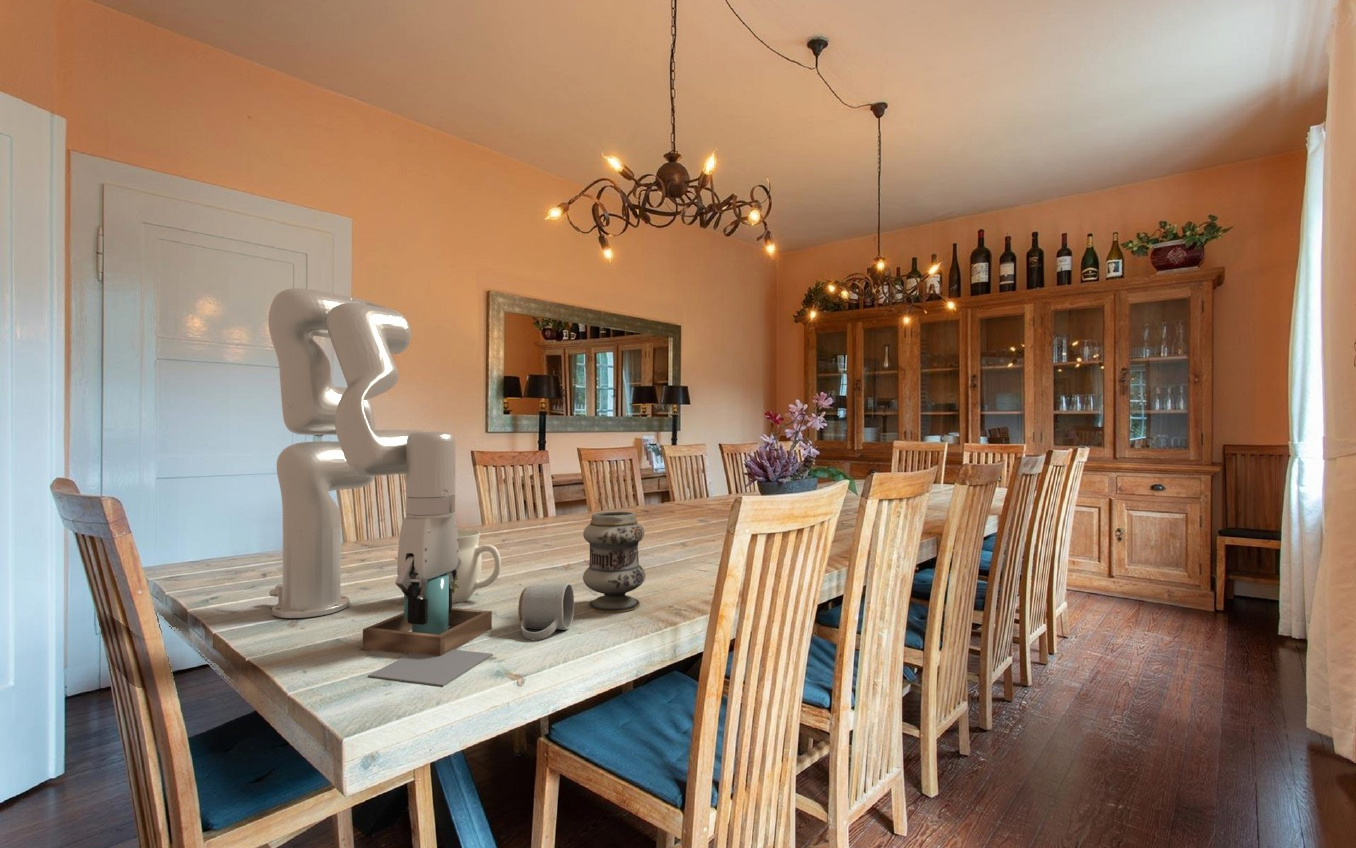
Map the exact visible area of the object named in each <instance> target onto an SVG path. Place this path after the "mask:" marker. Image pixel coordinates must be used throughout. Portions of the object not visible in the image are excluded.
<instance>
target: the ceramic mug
mask: <svg viewBox="0 0 1356 848" xmlns="http://www.w3.org/2000/svg"><path fill="white" fill-rule="evenodd" d="M517 607H518V608H517V609H518V618H519V621H520V629H521V633H522V636H523V637H524V638H526V639H527V638H528V640H531V639H534V640H533V641H539V639H540V640H543V639H546V638H548V637H549V636H551V635H552V634H554V632H555V631H556V630H557V631H558V630H559V631H560V630H561V631H567V630H569V629H570V628H571V626H572V623H573V620H574V614H575V613H574V612H575V594H574V589H573V586H572V585H571V583H570V582H561V583H559V582H558V583H549V584H546V583H545V584H533V585H529V586H526V587H525V588H523V590H522V591H521V593H520V595H519V600H518V606H517ZM526 628H527V629H533V630H534V629H535V630H539V631H536V632H535V631H528V630H527V629H526ZM540 629H542V630H540Z"/></svg>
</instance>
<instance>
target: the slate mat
mask: <svg viewBox="0 0 1356 848" xmlns="http://www.w3.org/2000/svg"><path fill="white" fill-rule="evenodd" d="M493 655H494V653H488V652H479V651H470V650H460V649H455V650H453V649H452V650H451V651H449V652H447V653H445V654H443V655H442V656H434V655H426V654H417V653H411V654H407V655H404V656H403V657H401V658H399V659H398V660H394V661H393V662H391V663H390V664H387V665H385V666H383V667H381V668H380V669H378V670H375V671H374V672H371V673H370V674H368V676H367V677H369V678H375V679H383V680H384V679H385V680H390V681H398V682H407V683H412V684H413V683H414V684H420V685H421V684H422V685H429V686H438V687H445V686H447V685H448V684H449V683H451V682H453V681H454V680H456V679H457V678H459V677H460V676H462V675H464V674H465V673H467V672H468V671H470V670H472V669H473V668H475V667H476V666H478V665H479V664H481V663H483V662H484V661H486V660H487V659H489V658H490V657H493Z"/></svg>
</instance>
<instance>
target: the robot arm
mask: <svg viewBox="0 0 1356 848" xmlns="http://www.w3.org/2000/svg"><path fill="white" fill-rule="evenodd" d="M267 319H268V323H267V324H268V330H269V337H270V339H271V342H272V346H273V349H274V351H275V354H276V358H277V362H278V368H279V384H280V395H281V396H280V397H281V398H280V399H281V409H282V410H281V412H282V416H283V422H284V425H285V427H286V429H287V430H288V431H289V432H292V433H293V434H297V435H302V436H303V435H305V436H307V435H308V436H314V435H315V436H329V435H330V436H336V437H337V440H338V441H329V440H327V441H323V440H321V441H304V442H303V441H302V442H297V443H294V444H291V445H289V446H287V447H286V448H284V449H283V450H281V452H280V453H279V455H278V456H277V458H276V475H277V479H278V484H279V489H280V493H281V505H282V506H281V507H282V508H281V509H282V583H279V584H277V585H275V587H274V588H272V589H270V591H269V596H270V597H276V598H278V601H277V602H278V603H276V604H275V605H273V607H272V609H271V610H272V612H271V613H272V615H273V616H275V617H277V618H282V619H283V618H284V619H305V618H306V619H307V618H314V617H319V616H325V615H330V614H334V613H336V612H337V613H338V612H339V611H342V610H345V609H346V608H348V607H349V605H350V598H349V597H348V596H346V595H342V594H341V567H342V566H341V561H342V560H341V559H342V557H341V556H342V554H341V549H342V548H341V543H342V542H341V541H342V539H341V537H342V534H341V533H342V532H341V531H342V530H341V529H342V527H341V526H342V525H341V523H342V520H341V519H342V518H341V516H342V515H341V511H340V508H339V506H338V504H337V503H336V502H335V501H334V499H333V498H332V496H331V495H330V493H329V492H332V491H333V492H334V491H341V490H342V491H344V490H353V489H359V488H360V489H361V488H364V487H367V486H369V485H370V484H371V483H372V482H373V481H374V480H375V478H376V477H377V476H379V477H380V476H391V475H392V476H393V475H394V476H395V475H398V476H400V475H405V517H403V519H402V524H401V527H400V532H399V533H400V534H399V539H398V550H397V565H396V566H397V568H396V569H397V570H396V571H397V572H396V573H397V577H396V579H395V585H396V586H397V587H398V588H399V589H400V591H401V592H402V593H403V595H404V594H405V598H406V599H408V623H410V624H420V625H424V624H426V623H427V599H425V598H424V597H425V592H426V587H427V583H428V580H429V579H432V578H435V577H438V576H441V575H444V574H447V575H449V613H450V612H452V608H453V603H452V589H450V588H453V587H454V579H455V577H456V575H457V571H458V569H459V567H460V565H461V560H460V559H459V557H458V532H457V529H458V524H457V519H456V517H457V516H456V439H455V436H454V435H453V434H452V433H450V432H447V431H423V430H416V429H376V424H375V414H374V413H375V412H374V407H373V404H372V402H371V399H373V398H374V397H375V398H376V397H377V396H380V395H382V394H384V393H386V392H388V391H390V390H391V389H392V388H393V387H395V385H396V384H397V383H398V381H399V378H400V374H399V373H400V372H399V370H398V366H397V365H396V362H395V360H394V358H393V356H392V355H398V354H401V353H403V352H404V351H406V350H407V349H408V347H409V346H410V342H411V339H412V330H411V326H410V323H409V321H408V320H407V319H406V317H405V316H404V315H403V314H402V313H401V312H399V311H397V310H395V309H392V308H390V307H386V306H382V305H380V304H378V303H375V302H372V301H369V300H366V299H361V298H356V297H352V296H346V295H341V294H335V293H332V292H326V291H322V290H321V291H320V290H316V289H310V288H301V287H300V288H298V287H297V288H294V287H293V288H289V289H288V288H287V289H284V290H282V291H280V292H278V293H277V294H276V295H275V297H274V298H273V300H272V301H271V304H270V307H269V311H268V318H267ZM314 337H321V338H328V339H330V342H331V343H332V346H333V349H334V352H335V355H336V358H337V360H338V363H339V366H340V369H341V371H342V374H343V377H344V379H345V382H346V385H347V386H346V387H343V386H335V385H334V384H333V381H332V367H331V364H330V363H331V362H330V360H329V358H328V356H327V354H326V353H325V351H324V350H323V349H322V347H321V346H320V345H319V344H318V343H317V342H316V341H315V339H314ZM416 576H418V578H419V579H418V578H416ZM415 583H420V585H419V589H417V587H416V586H415Z"/></svg>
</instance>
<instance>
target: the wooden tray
mask: <svg viewBox="0 0 1356 848" xmlns="http://www.w3.org/2000/svg"><path fill="white" fill-rule="evenodd" d="M492 619H493V611H492V610H491V611H490V610H480V609H472V608H471V609H470V608H469V609H468V608H458V607H452V612H450V613H449V630H447V631H445V632H443V633H441V634H439V635H437V634H427V633H417V632H412V624H410V623H408V619H404V612H402V613H399V614H396V615H394V616H392V617H389V618H386V619H385V620H382V621H380V622H377V623H375V624H373V625H369V626H368V627H364V628H363V629H362V649H364V650H370V651H378V652H379V651H381V652H388V653H397V654H405V655H406V654H407V655H409V654H411V653H417V654H426V655H434V656H442V655H443V654H445V653H447V652H449V651H451V650H452V649H453V650H458V648H460V647H462V646H464V645H466V644H467V643H469V642H471V641H473V640H474V638H475V639H476V638H478V637H480V636H482V635H483V633H484V634H485V633H487V632H489V631H491V630H492V629H493V620H492ZM488 630H489V631H488ZM470 640H471V641H470Z"/></svg>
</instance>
